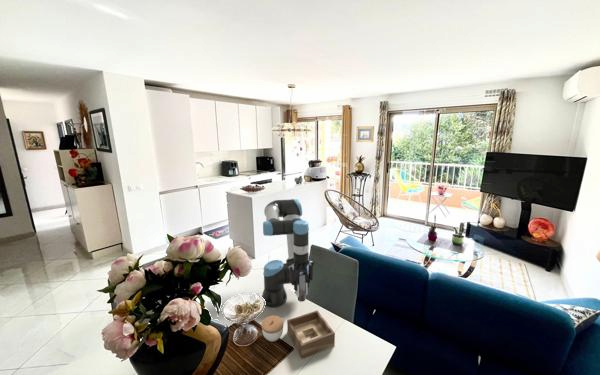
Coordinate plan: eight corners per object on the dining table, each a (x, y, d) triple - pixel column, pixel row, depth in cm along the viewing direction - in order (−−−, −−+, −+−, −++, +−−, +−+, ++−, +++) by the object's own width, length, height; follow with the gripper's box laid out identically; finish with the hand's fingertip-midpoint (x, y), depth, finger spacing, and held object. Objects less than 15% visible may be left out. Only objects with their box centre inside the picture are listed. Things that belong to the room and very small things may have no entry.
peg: (296, 297, 129) (296, 273, 127) (303, 295, 131) (303, 271, 128) (299, 302, 125) (299, 276, 123) (306, 300, 127) (306, 275, 125)
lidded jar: (280, 347, 116) (280, 330, 115) (258, 343, 119) (258, 326, 117) (286, 330, 127) (285, 314, 125) (266, 327, 129) (265, 311, 127)
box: (287, 332, 125) (287, 320, 124) (317, 321, 132) (317, 310, 131) (301, 359, 110) (301, 345, 109) (334, 345, 117) (334, 333, 116)
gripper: (287, 258, 117) (288, 303, 121) (319, 251, 123) (319, 294, 128) (282, 252, 123) (283, 294, 128) (312, 246, 130) (313, 286, 134)
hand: (301, 294), depth 128 cm, fingers closed on peg, 4 cm apart
